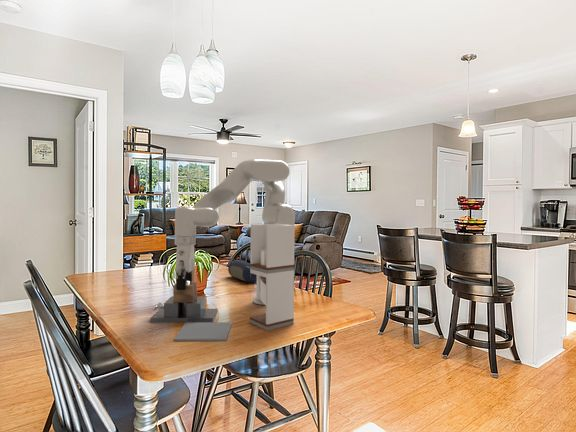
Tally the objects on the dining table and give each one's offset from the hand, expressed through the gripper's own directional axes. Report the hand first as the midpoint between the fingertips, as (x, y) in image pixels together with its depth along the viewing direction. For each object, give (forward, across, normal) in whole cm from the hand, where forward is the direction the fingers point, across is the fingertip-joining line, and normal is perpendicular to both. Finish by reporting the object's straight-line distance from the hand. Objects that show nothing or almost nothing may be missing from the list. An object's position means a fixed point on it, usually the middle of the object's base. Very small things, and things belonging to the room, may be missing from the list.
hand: (184, 286), depth 139 cm
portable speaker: (+11, +68, -17) cm, 71 cm away
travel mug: (+11, +22, +4) cm, 26 cm away
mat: (+11, -16, -11) cm, 22 cm away
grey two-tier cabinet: (+11, -7, -33) cm, 35 cm away
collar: (+5, 0, 0) cm, 5 cm away
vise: (+11, 0, -1) cm, 11 cm away
